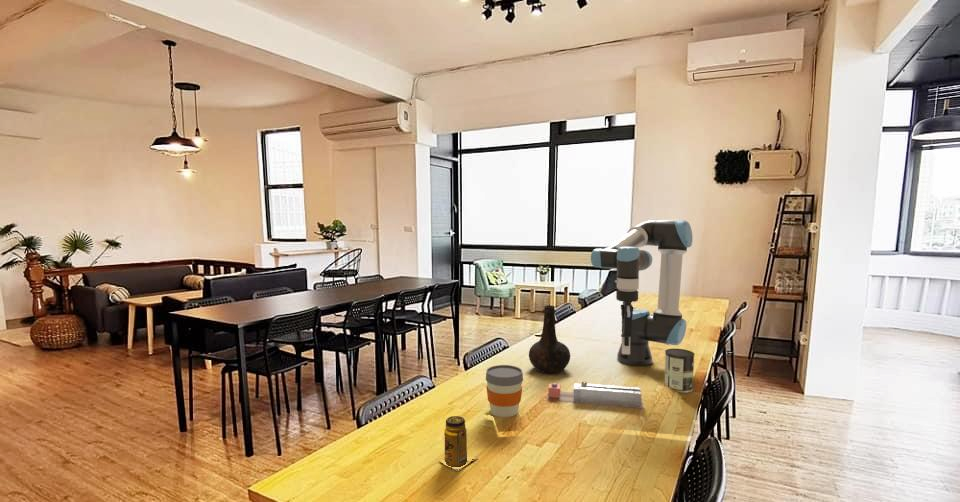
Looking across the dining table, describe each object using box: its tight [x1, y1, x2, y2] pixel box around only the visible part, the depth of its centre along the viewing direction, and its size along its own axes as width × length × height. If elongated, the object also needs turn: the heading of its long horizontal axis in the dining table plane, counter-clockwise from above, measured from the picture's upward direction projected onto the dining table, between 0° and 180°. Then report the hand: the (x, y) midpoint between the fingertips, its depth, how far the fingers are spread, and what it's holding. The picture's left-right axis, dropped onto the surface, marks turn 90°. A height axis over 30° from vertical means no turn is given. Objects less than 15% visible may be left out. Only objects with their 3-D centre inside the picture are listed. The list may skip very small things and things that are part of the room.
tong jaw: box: [581, 381, 642, 393], centre depth 159 cm, size 2×20×6 cm, turn 78°
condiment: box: [443, 415, 479, 472], centre depth 123 cm, size 7×8×12 cm
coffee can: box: [664, 347, 695, 394], centre depth 173 cm, size 10×10×14 cm
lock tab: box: [547, 382, 561, 398], centre depth 163 cm, size 4×4×4 cm
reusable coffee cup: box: [485, 364, 524, 418], centre depth 151 cm, size 13×13×15 cm
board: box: [546, 390, 645, 410], centre depth 160 cm, size 9×33×1 cm, turn 76°
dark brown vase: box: [528, 304, 571, 374], centre depth 193 cm, size 18×18×28 cm
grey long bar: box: [573, 382, 643, 409], centre depth 158 cm, size 5×23×5 cm, turn 76°
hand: (625, 353), depth 164 cm, fingers closed
